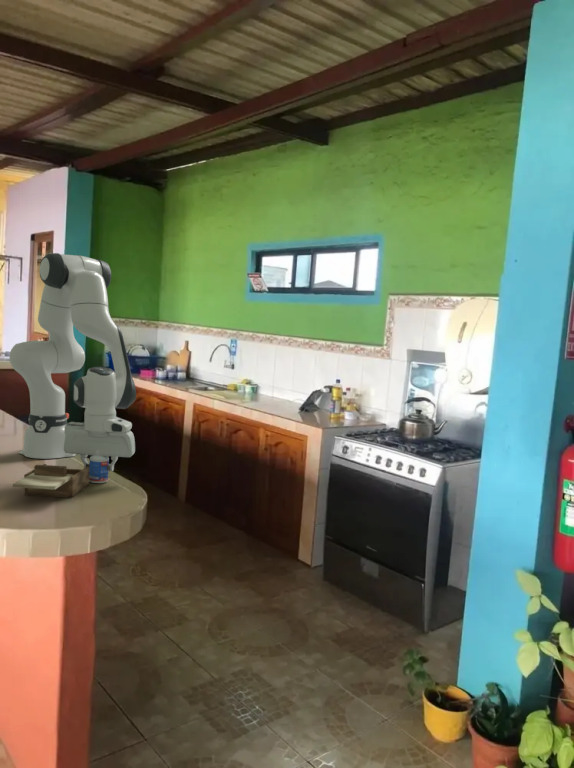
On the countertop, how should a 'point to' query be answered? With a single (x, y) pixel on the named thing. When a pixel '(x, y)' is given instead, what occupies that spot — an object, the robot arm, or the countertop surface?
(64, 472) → the lid
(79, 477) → the lid box
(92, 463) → the pill bottle
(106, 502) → the countertop surface
